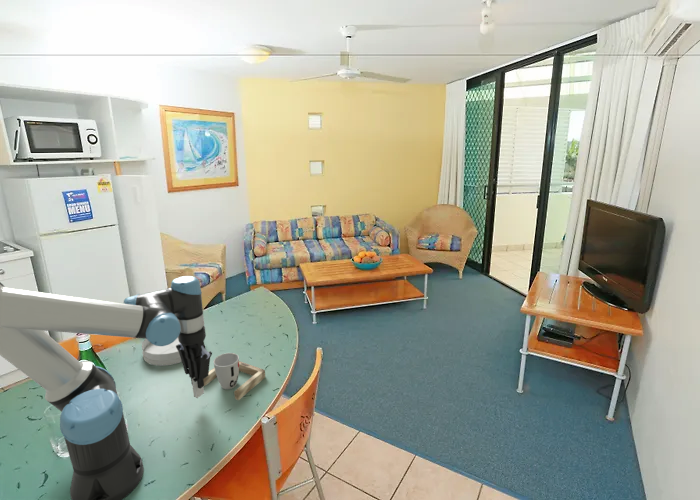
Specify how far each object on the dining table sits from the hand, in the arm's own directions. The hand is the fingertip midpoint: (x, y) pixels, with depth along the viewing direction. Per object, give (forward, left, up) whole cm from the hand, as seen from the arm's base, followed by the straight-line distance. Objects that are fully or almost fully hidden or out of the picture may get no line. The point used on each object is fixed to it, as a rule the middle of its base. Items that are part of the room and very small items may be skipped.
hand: (199, 394), depth 116 cm
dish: (+19, +36, -5) cm, 41 cm away
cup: (+12, 0, -5) cm, 13 cm away
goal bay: (+14, 0, -4) cm, 14 cm away
